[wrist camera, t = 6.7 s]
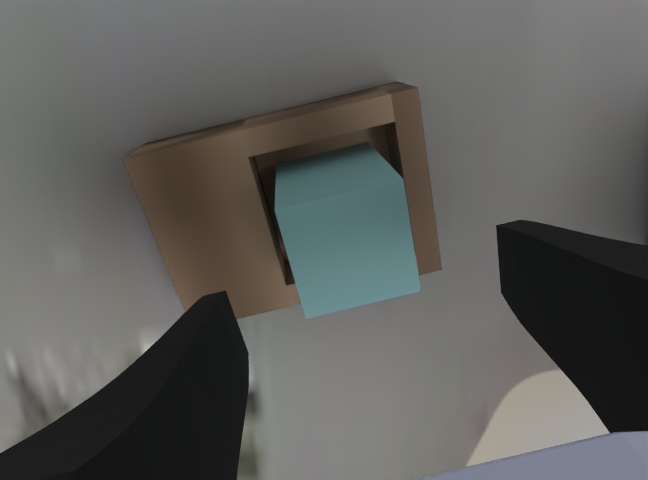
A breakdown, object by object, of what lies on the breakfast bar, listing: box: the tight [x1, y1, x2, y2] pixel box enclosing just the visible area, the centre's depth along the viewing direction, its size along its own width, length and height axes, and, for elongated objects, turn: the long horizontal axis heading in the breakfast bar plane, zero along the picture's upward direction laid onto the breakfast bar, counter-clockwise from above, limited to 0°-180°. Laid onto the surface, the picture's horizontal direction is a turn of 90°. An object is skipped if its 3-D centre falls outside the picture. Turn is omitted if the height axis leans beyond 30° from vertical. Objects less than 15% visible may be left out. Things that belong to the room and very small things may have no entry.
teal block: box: [275, 142, 421, 319], centre depth 17 cm, size 4×4×6 cm
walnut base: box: [122, 82, 442, 319], centre depth 19 cm, size 11×8×3 cm
